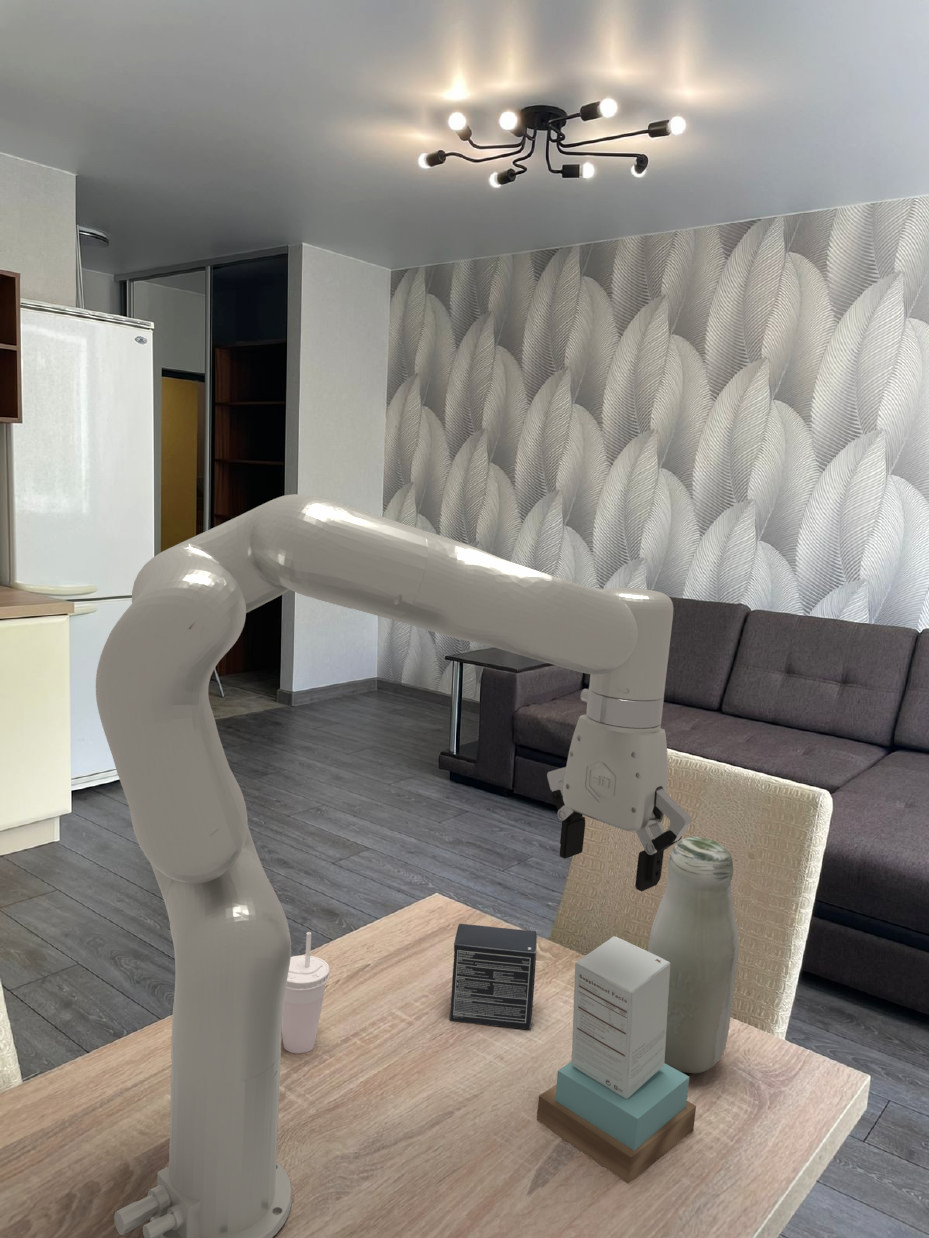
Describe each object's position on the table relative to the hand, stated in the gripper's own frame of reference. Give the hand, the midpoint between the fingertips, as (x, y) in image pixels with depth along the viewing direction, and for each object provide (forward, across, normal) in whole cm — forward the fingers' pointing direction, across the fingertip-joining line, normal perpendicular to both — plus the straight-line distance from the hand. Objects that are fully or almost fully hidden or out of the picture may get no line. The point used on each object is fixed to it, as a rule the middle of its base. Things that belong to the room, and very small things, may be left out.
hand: (607, 870), depth 96 cm
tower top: (+26, +3, +2) cm, 26 cm away
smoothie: (+29, -30, -15) cm, 45 cm away
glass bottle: (+28, +1, +18) cm, 34 cm away
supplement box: (+22, +2, +2) cm, 22 cm away
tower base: (+29, +3, +2) cm, 29 cm away
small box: (+29, -21, +8) cm, 36 cm away
